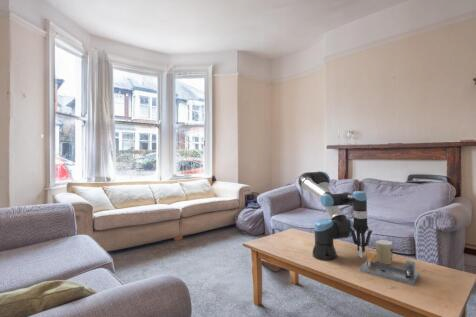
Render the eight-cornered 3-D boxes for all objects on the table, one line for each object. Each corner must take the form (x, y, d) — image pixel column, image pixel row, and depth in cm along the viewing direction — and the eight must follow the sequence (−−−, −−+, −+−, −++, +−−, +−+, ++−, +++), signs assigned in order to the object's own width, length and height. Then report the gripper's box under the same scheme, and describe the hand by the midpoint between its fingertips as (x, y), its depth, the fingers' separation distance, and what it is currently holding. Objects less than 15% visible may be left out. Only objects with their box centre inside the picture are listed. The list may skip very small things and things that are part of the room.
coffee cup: (395, 265, 157) (395, 245, 157) (378, 264, 159) (378, 244, 159) (390, 258, 166) (389, 239, 166) (373, 258, 168) (373, 239, 168)
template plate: (360, 271, 151) (359, 257, 151) (367, 263, 161) (366, 250, 161) (414, 285, 134) (413, 269, 134) (418, 275, 143) (418, 261, 143)
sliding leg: (365, 266, 152) (365, 256, 152) (369, 261, 158) (369, 252, 158) (372, 267, 149) (372, 258, 149) (376, 263, 155) (376, 253, 155)
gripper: (346, 217, 160) (348, 256, 161) (369, 220, 151) (371, 261, 152) (351, 214, 166) (352, 252, 166) (373, 217, 157) (375, 257, 157)
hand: (361, 256), depth 159 cm, fingers closed
